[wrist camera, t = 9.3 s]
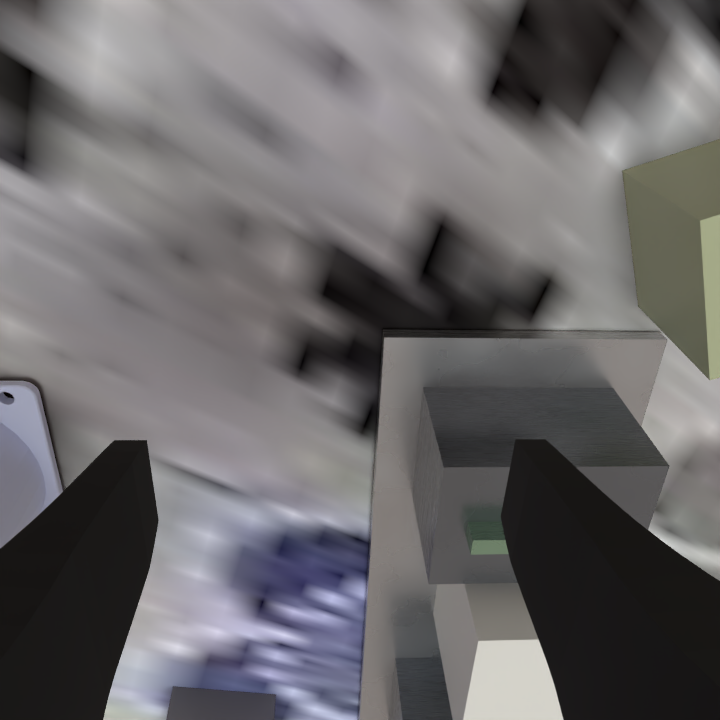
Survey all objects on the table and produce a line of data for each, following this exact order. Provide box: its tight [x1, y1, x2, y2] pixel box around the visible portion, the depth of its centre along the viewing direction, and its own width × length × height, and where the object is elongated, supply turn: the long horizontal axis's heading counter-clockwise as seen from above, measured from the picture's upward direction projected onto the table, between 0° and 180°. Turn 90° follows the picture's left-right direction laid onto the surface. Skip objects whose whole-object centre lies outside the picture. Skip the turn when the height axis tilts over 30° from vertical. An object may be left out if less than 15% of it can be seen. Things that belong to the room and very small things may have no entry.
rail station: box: [358, 329, 669, 720], centre depth 27 cm, size 10×24×6 cm, turn 178°
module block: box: [433, 583, 563, 720], centre depth 26 cm, size 4×6×6 cm, turn 178°
